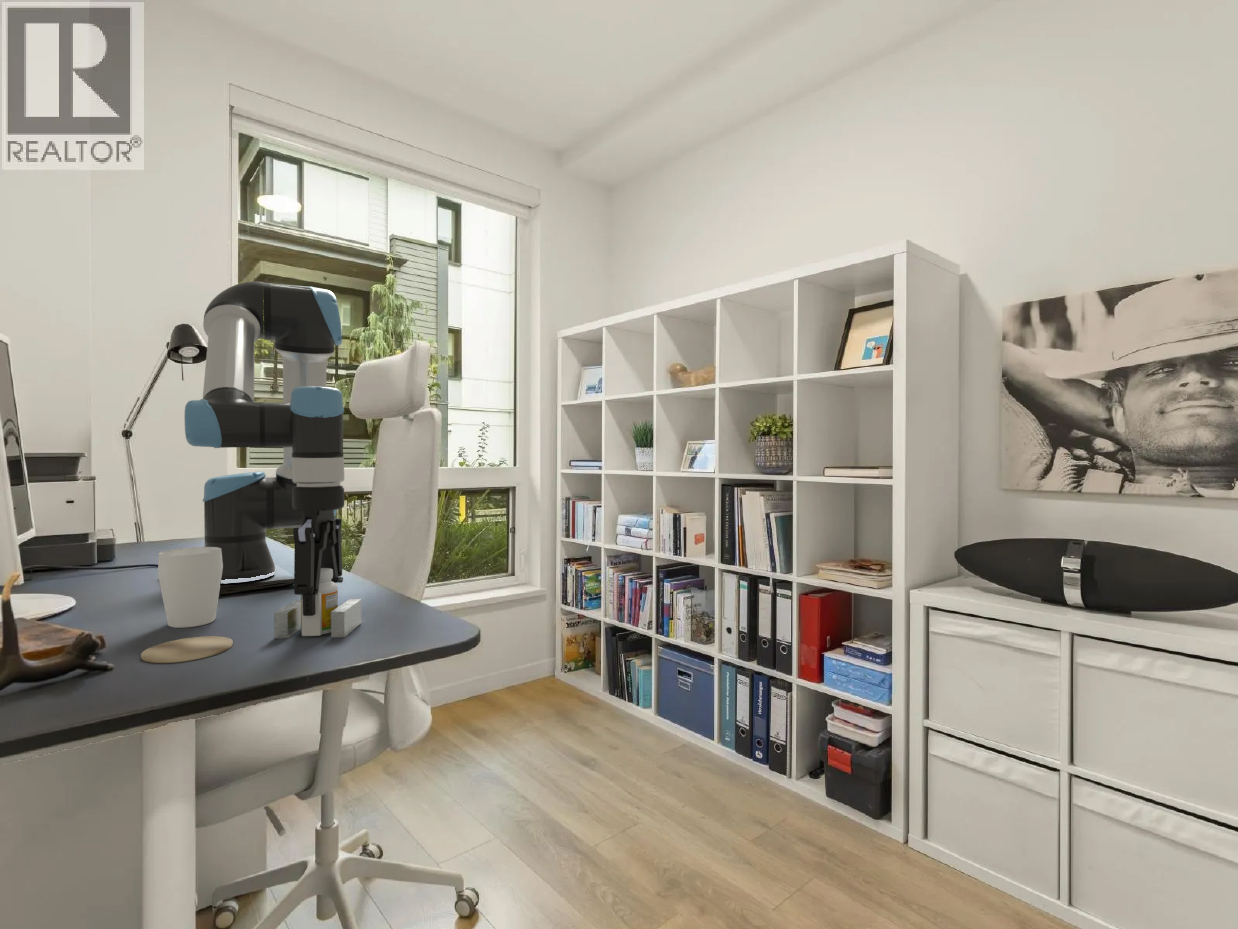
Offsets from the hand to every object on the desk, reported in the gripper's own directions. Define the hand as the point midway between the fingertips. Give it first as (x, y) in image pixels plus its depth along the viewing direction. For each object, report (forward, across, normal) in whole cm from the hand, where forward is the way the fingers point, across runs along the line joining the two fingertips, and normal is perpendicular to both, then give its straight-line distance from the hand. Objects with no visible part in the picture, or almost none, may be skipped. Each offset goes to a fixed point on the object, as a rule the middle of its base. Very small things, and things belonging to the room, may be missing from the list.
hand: (320, 628), depth 103 cm
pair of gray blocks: (0, 0, 0) cm, 0 cm away
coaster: (0, +9, -15) cm, 18 cm away
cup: (0, -6, -23) cm, 24 cm away
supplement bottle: (0, 0, 0) cm, 0 cm away
